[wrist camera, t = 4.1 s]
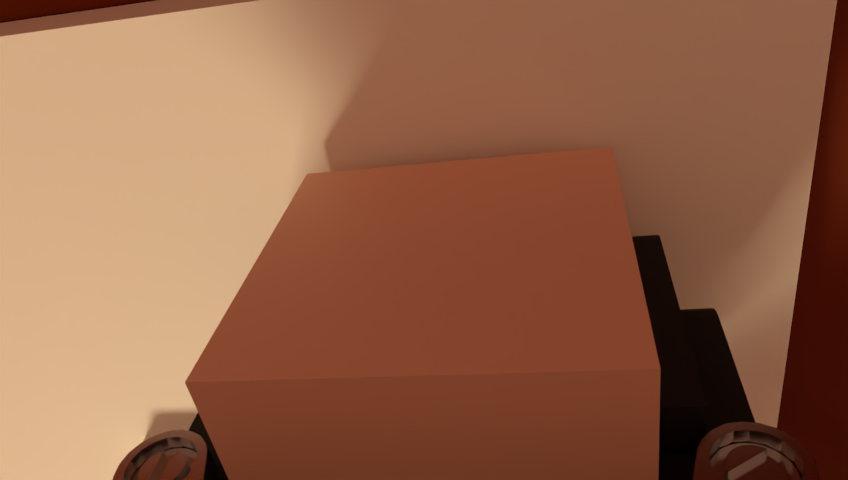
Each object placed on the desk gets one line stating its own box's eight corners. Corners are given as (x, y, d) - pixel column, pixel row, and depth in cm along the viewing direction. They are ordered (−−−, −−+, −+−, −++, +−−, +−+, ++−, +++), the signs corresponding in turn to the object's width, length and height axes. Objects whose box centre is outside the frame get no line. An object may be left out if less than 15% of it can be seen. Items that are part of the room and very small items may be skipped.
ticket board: (817, -96, 10) (883, -69, 8) (738, 569, 18) (762, 659, 17) (-347, 73, 15) (-481, 117, 13) (11, 551, 23) (-37, 621, 21)
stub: (612, 147, 11) (660, 368, 7) (618, 421, 14) (654, 690, 10) (306, 173, 12) (185, 382, 8) (375, 424, 15) (315, 670, 11)
